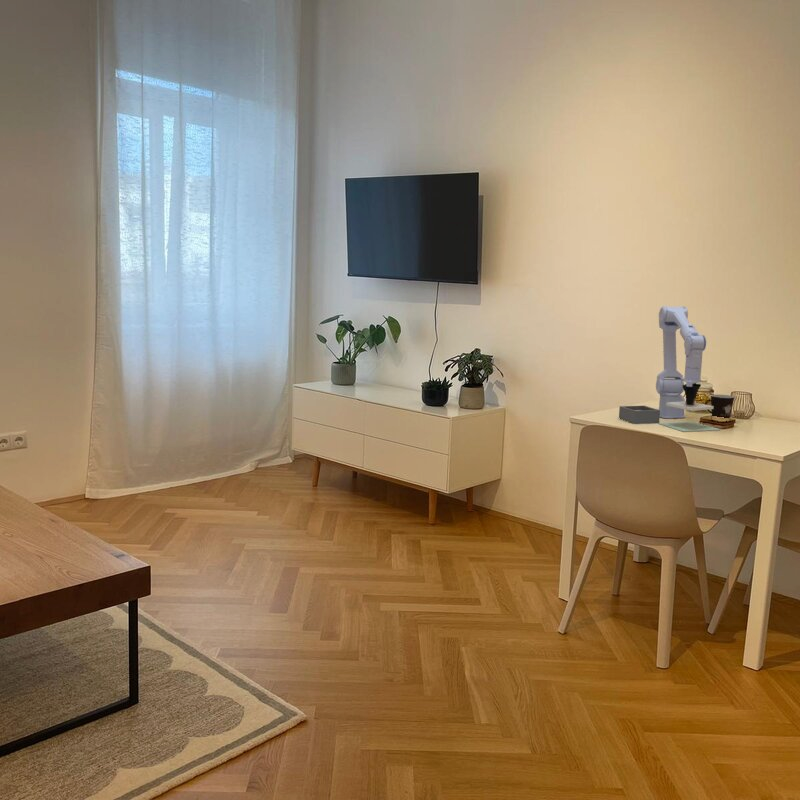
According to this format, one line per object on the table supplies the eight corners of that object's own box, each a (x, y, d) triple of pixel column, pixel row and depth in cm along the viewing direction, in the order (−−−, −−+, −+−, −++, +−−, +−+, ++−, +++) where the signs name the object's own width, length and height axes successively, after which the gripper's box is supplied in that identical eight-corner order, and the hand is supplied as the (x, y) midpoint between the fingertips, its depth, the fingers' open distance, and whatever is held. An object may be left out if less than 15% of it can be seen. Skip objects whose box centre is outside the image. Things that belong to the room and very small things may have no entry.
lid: (687, 403, 322) (687, 394, 321) (713, 408, 312) (714, 399, 312) (666, 405, 316) (667, 396, 315) (692, 410, 306) (693, 401, 305)
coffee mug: (728, 419, 333) (730, 394, 331) (735, 423, 324) (737, 398, 322) (698, 418, 334) (700, 393, 332) (704, 422, 325) (706, 397, 324)
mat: (693, 422, 325) (694, 421, 325) (720, 430, 310) (720, 429, 310) (658, 423, 320) (658, 422, 320) (683, 431, 305) (683, 430, 305)
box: (643, 417, 333) (644, 405, 332) (659, 423, 322) (660, 410, 321) (618, 418, 330) (619, 406, 329) (634, 423, 319) (634, 411, 318)
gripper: (685, 365, 320) (682, 400, 322) (678, 368, 307) (676, 405, 309) (704, 366, 316) (701, 401, 319) (699, 370, 304) (696, 407, 306)
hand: (690, 403), depth 314 cm, fingers closed on lid, 3 cm apart
